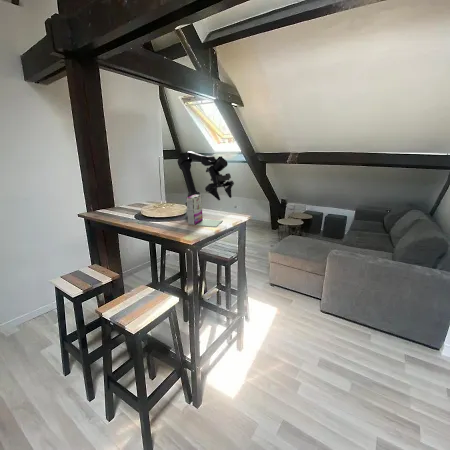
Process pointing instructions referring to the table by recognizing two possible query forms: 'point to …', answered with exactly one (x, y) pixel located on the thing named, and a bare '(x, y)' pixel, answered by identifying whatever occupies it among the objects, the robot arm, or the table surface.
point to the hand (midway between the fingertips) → (225, 198)
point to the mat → (209, 223)
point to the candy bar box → (194, 209)
